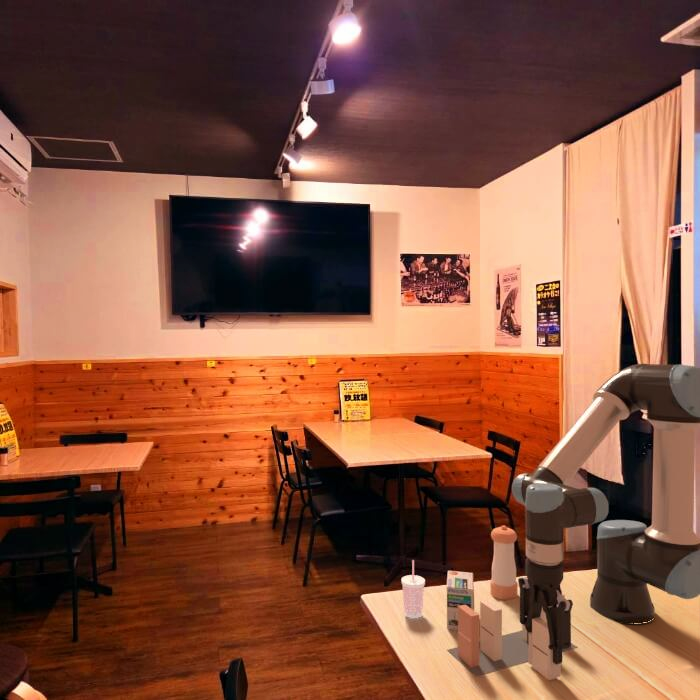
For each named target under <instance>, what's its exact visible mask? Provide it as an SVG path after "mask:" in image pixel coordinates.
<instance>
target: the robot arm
mask: <svg viewBox="0 0 700 700" xmlns="http://www.w3.org/2000/svg"><path fill="white" fill-rule="evenodd" d="M592 400H593V401H592V402H591V404H590V405H589V406H588V407H587V408H586V410H585V411H584V412H583V413H582V414H581V415H580V416H579V418H577V420H576V421H575V422H574V423H573V425H572V426H571V427H570V428H569V429H568V431H566V433H565V434H564V435H563V437H562V438H561V439H560V440H559V441H558V442H557V444H556V445H554V447H553V448H552V450H550V452H549V453H548V454H547V455H546V456H545V458H543V460H542V461H541V462H540V463H539V465H538V466H537V467H536V468H535V469H534V470H533V472H532V473H521V474H518V475H516V476H515V478H514V479H513V482H512V484H511V493H512V496H513V498H514V500H515V501H516V502H518V503H519V504H521V505H523V506H524V507H525V508H524V509H525V511H524V512H525V513H524V514H525V516H524V519H525V556H526V558H525V577H519V578H518V579H517V583H518V587H519V622H520V624H521V625H522V624H524V625H525V628H526V630H527V643H528V662H527V663H528V664H529V665H531V666H532V619H534V618H538V617H540V616H541V611H542V607H543V611H544V612H545V613H546V619H547V625H548V631H549V637H550V643H551V645H549V646H548V678H549V679H552V680H555V679H557V678H559V677H561V664H562V662H563V652H562V650H563V649H567V648H570V647H571V643H572V629H571V628H572V619H571V618H572V616H571V614H572V612H571V611H572V609H573V605H574V603H573V601H572V600H571V599H566V597H565V598H564V597H563V596H562V593H563V592H562V589H561V584H562V582H563V580H564V562H563V561H564V559H565V558H564V530H565V529H570V528H574V527H575V528H576V527H581V526H582V527H583V526H588V525H589V526H591V525H592V526H593V525H594V524H597V523H600V524H599V525H598V526H597V535H596V552H597V553H596V561H597V562H596V563H597V565H596V566H597V567H596V568H597V569H596V570H597V577H596V580H595V583H594V585H593V588H592V591H591V593H590V597H589V600H590V601H589V606H590V608H591V609H592V610H594V611H595V612H596V613H598V614H599V615H601V616H603V617H605V618H608V619H611V620H613V621H615V622H616V623H620V622H622V623H621V624H625V623H633V624H632V625H635V624H634V623H643V622H648V621H650V620H652V619H653V618H654V616H655V613H656V612H655V611H656V609H655V606H654V604H653V602H652V597H651V593H650V591H649V587H648V585H650V586H652V587H653V588H656V589H658V590H661V591H662V592H665V593H667V594H668V595H670V596H675V597H678V598H681V599H682V600H683V599H685V600H691V599H695V598H697V597H698V596H700V536H698V535H697V533H695V532H694V521H695V520H694V518H695V517H694V516H695V515H694V514H695V513H694V511H695V508H694V507H695V506H694V505H695V474H696V473H695V469H696V468H695V467H696V466H695V465H696V463H695V462H696V461H695V460H696V458H695V457H696V430H697V428H699V427H700V367H698V366H696V365H688V364H687V365H686V364H680V363H679V364H663V363H662V364H661V363H660V364H655V363H654V364H652V363H650V364H649V363H637V364H634V365H633V364H632V365H630V366H627V367H625V368H623V369H621V370H620V371H618V372H616V373H615V374H614V375H612V376H611V377H610V378H608V379H607V380H606V381H605V382H603V384H602V385H601V386H600V387H599V388H598V389H597V390H596V391H595V392H594V393H593V396H592ZM639 410H640V411H641V410H642V411H646V413H647V414H646V420H647V421H648V422H649V423H650V424H651V425H652V427H653V450H652V451H653V452H652V453H653V455H652V456H653V457H652V458H653V459H652V501H651V502H652V503H651V504H652V505H651V506H652V507H651V508H652V511H651V524H650V526H648V525H646V524H645V523H643V522H640V521H636V520H627V519H615V520H614V519H613V520H612V519H610V520H606V519H607V516H608V514H609V509H610V508H609V501H608V499H607V497H606V495H605V494H604V493H603V492H602V491H601V490H600V489H598V488H596V487H587V486H586V487H585V486H583V487H582V488H577V487H574V486H571V485H570V486H569V485H568V483H569V482H570V481H571V480H572V479H573V478H574V476H575V475H576V474H577V473H578V471H579V470H580V469H581V467H583V465H584V464H585V463H586V462H587V460H588V459H589V458H590V457H591V456H592V454H594V452H595V451H596V450H597V448H598V447H599V446H600V444H601V443H602V442H603V441H604V440H605V439H606V437H608V435H609V434H610V432H611V431H612V430H613V429H614V427H616V425H617V424H618V423H619V422H620V421H623V420H626V419H628V417H629V416H630V415H631V414H632V413H634V412H636V411H639ZM604 520H606V521H604ZM647 526H648V527H647ZM550 606H551V607H550ZM525 616H527V617H525ZM654 619H655V618H654ZM554 678H555V679H554Z"/></svg>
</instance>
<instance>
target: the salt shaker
mask: <svg viewBox="0 0 700 700" xmlns="http://www.w3.org/2000/svg"><path fill="white" fill-rule="evenodd" d="M515 531H516V530H514V529H512V528H510V527H508V526H506V525H501V526H499V527H495V528H493V529H492V531H491V533H490V538H491V540H492V541H493V558H492V563H491V579H490V595H491V596H492V597H494V598H495V599H498V600H501V601H508V600H513V599H516V598H518V581H517V566H516V561H515V542H516V541H517V538H518V535H517V533H516V532H515Z"/></svg>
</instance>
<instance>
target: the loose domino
mask: <svg viewBox="0 0 700 700" xmlns="http://www.w3.org/2000/svg"><path fill="white" fill-rule="evenodd" d="M549 645H551V643H550V637H549V631H548V625H547V621H545V620H543V619H542V618H540V617H538V618H534V619H532V665H531V667H532V669H533V670H535V671H536V672H538V673H539V674H540V675H541V676H542V677H544V678H545V679H546V680H548V681H553V680H556V678H554V679H549V678H548V646H549Z"/></svg>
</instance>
